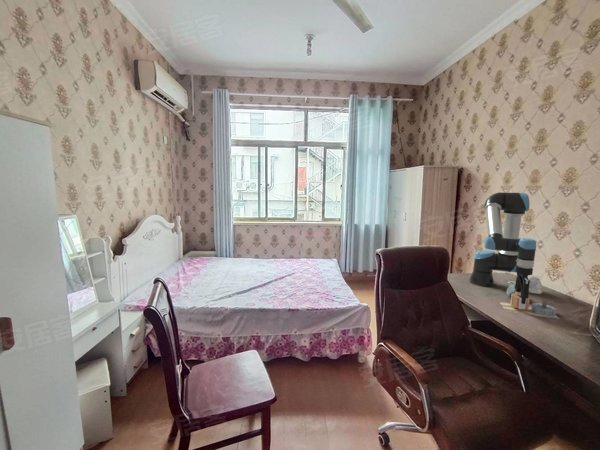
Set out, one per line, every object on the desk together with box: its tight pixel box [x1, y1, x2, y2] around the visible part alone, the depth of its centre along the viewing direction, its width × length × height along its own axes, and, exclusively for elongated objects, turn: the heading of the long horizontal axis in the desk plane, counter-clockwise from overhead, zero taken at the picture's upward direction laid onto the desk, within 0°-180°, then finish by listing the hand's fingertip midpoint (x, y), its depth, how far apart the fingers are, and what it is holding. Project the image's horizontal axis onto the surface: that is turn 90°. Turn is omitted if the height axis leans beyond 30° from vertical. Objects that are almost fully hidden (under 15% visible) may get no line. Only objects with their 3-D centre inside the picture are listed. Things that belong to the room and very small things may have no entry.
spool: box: [506, 284, 516, 299], centre depth 182 cm, size 14×10×10 cm
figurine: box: [528, 274, 543, 295], centre depth 195 cm, size 12×9×10 cm
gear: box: [531, 302, 557, 316], centre depth 162 cm, size 10×10×3 cm
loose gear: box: [509, 293, 531, 309], centre depth 165 cm, size 8×8×6 cm
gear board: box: [499, 299, 560, 320], centre depth 164 cm, size 14×24×8 cm, turn 67°
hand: (519, 305), depth 166 cm, fingers closed on loose gear, 8 cm apart
